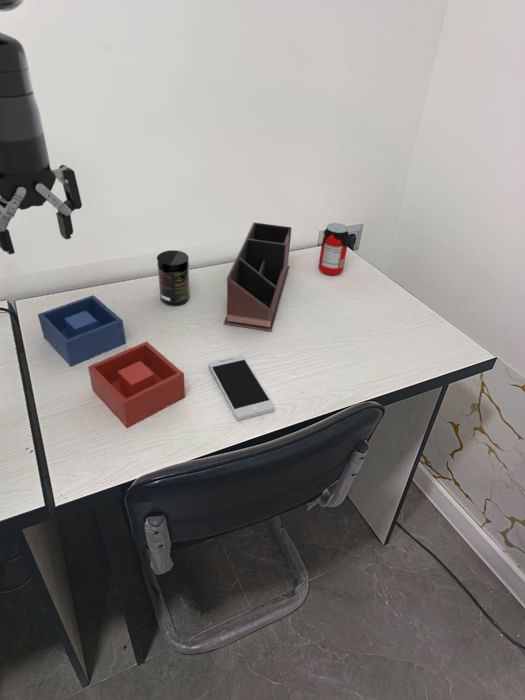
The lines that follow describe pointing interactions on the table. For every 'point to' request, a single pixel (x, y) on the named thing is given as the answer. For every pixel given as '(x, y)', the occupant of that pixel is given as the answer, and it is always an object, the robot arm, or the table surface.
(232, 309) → the desk organizer
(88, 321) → the blue block
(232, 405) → the smartphone
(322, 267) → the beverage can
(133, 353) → the red bin
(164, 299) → the supplement container
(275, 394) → the table surface
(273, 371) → the table surface
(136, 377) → the red block
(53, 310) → the blue bin
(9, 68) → the robot arm
